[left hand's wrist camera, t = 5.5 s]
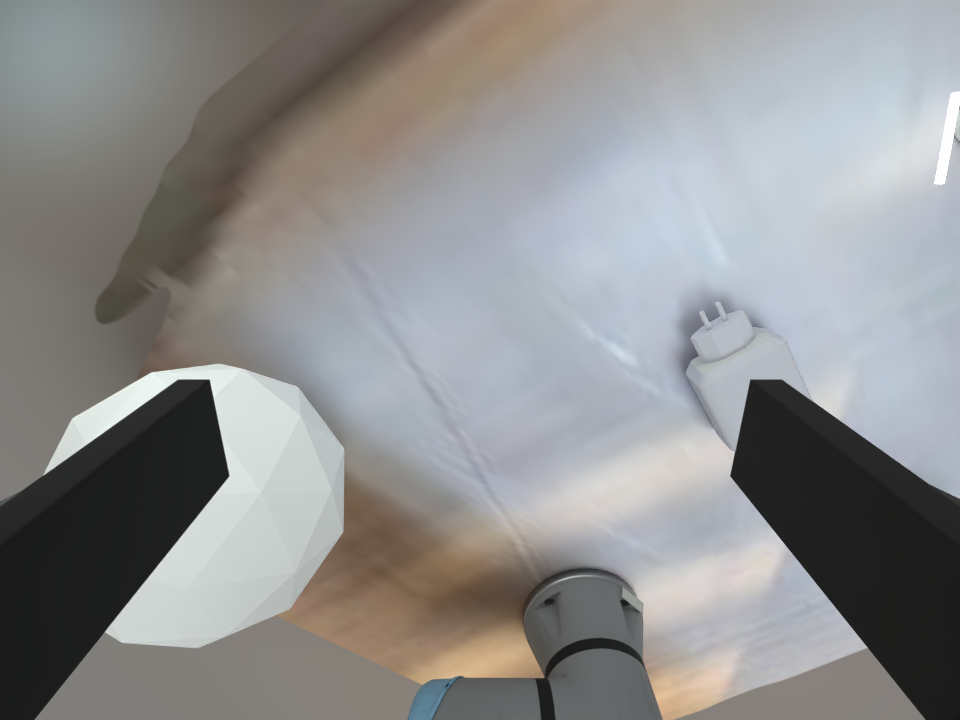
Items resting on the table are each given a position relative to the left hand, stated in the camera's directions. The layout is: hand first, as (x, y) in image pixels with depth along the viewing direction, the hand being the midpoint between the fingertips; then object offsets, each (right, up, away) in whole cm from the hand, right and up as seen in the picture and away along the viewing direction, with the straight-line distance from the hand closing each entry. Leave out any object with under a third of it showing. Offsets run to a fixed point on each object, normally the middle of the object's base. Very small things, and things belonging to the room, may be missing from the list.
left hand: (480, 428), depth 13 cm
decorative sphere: (-25, -6, +45) cm, 52 cm away
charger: (+26, +2, +42) cm, 49 cm away
